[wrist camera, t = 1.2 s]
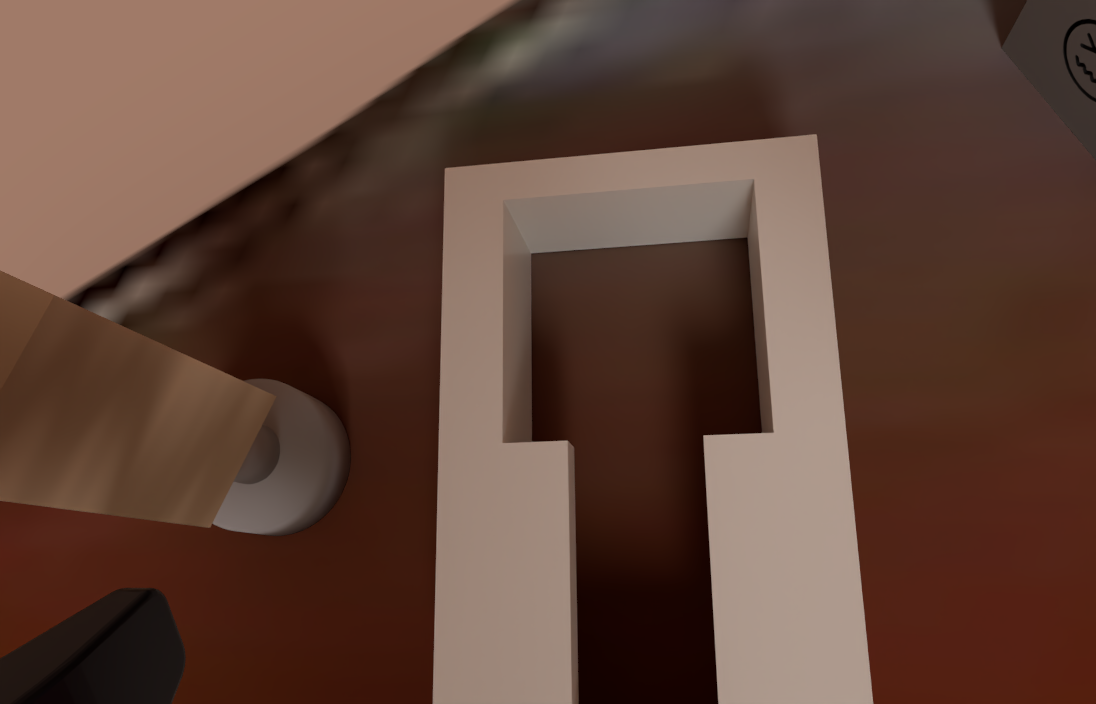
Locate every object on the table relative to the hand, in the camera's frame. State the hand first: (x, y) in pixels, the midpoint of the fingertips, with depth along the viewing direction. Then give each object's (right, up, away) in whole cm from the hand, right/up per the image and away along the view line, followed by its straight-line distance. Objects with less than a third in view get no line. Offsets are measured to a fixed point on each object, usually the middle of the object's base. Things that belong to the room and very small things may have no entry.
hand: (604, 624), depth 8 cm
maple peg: (-8, -1, +16) cm, 18 cm away
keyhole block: (+2, -1, +14) cm, 15 cm away
